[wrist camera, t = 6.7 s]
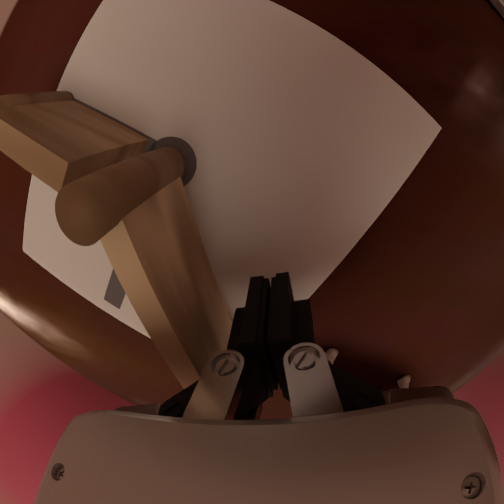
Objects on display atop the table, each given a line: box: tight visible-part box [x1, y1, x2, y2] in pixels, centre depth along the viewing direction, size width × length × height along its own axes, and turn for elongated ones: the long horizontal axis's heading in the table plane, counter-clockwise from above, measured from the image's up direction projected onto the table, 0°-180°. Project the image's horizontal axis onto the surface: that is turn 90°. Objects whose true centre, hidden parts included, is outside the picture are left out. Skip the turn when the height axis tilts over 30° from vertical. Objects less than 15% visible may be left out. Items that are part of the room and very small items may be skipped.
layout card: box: [23, 0, 442, 338], centre depth 12 cm, size 19×17×1 cm
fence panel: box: [55, 147, 232, 389], centre depth 10 cm, size 11×2×6 cm, turn 14°
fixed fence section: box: [0, 91, 149, 192], centre depth 8 cm, size 2×6×6 cm, turn 58°
